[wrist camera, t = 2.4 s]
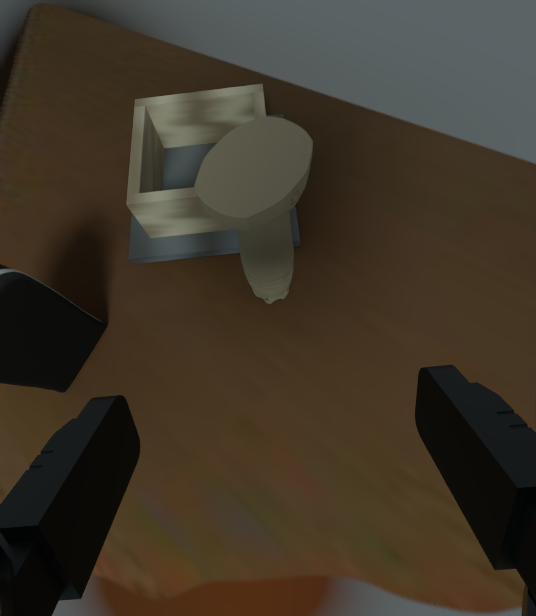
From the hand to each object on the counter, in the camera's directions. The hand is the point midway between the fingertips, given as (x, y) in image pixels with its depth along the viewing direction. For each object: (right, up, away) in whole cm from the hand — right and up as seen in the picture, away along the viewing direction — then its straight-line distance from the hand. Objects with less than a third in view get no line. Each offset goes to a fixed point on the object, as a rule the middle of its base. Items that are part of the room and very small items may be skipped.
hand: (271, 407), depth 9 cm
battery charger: (-17, -1, +21) cm, 27 cm away
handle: (0, +4, +21) cm, 22 cm away
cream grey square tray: (-6, +15, +26) cm, 30 cm away
